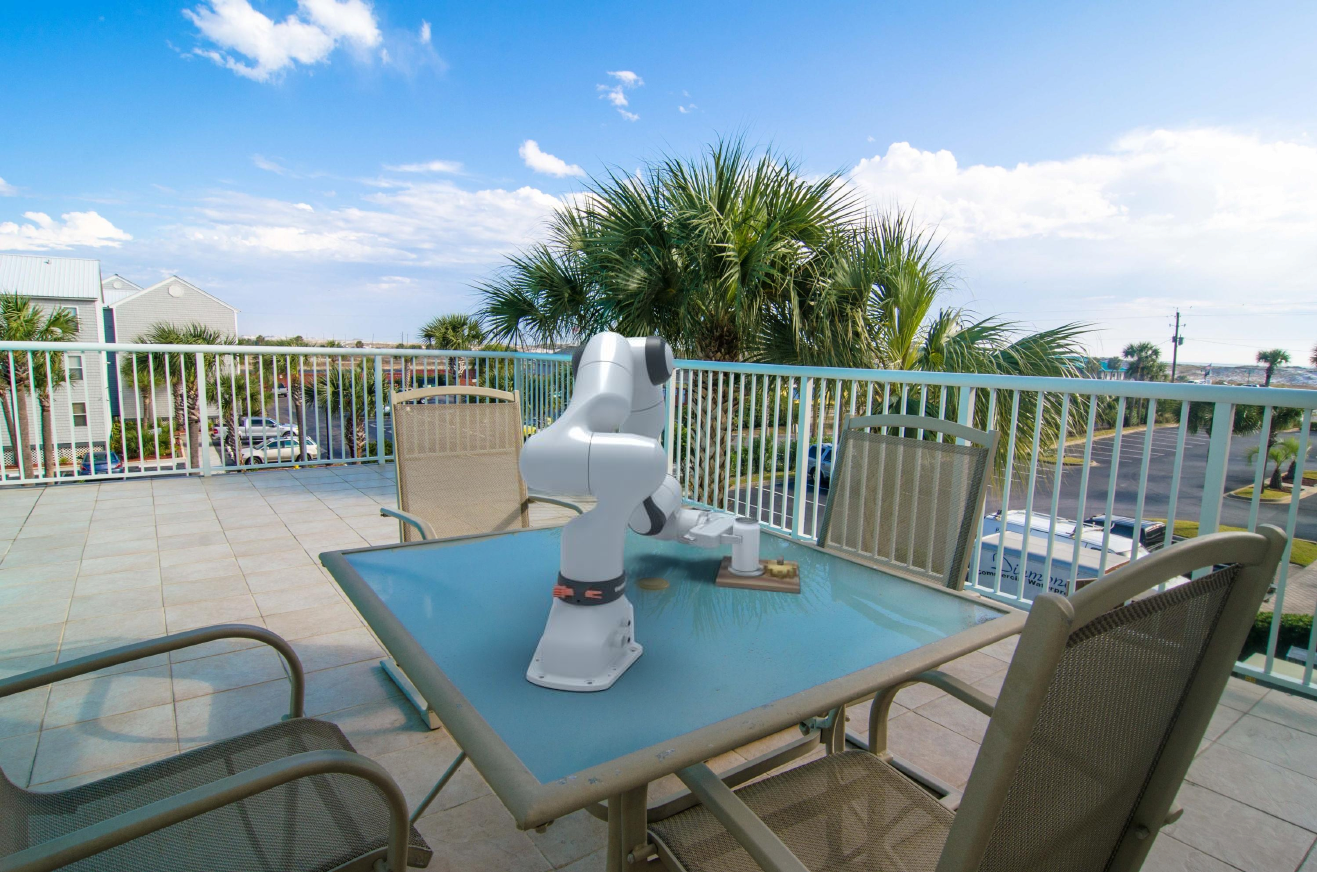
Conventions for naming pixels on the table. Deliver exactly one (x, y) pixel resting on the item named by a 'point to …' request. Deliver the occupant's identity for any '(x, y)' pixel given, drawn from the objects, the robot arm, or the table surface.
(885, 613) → the table surface
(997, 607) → the table surface
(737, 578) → the board
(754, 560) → the can
